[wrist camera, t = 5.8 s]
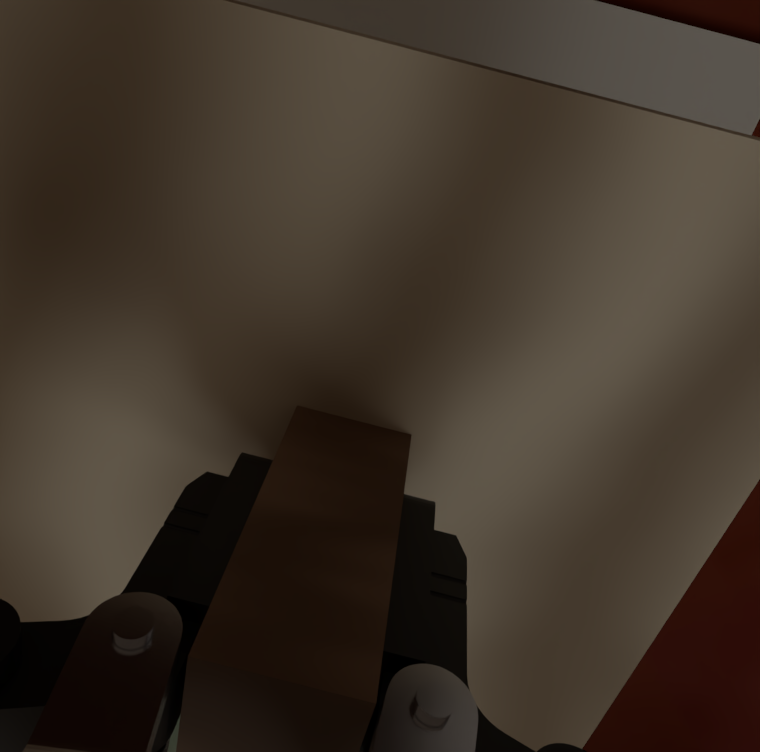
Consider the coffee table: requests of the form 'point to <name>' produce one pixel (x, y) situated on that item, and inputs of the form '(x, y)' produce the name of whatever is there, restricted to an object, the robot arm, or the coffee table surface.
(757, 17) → the coffee table surface
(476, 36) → the tray
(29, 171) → the cover board
